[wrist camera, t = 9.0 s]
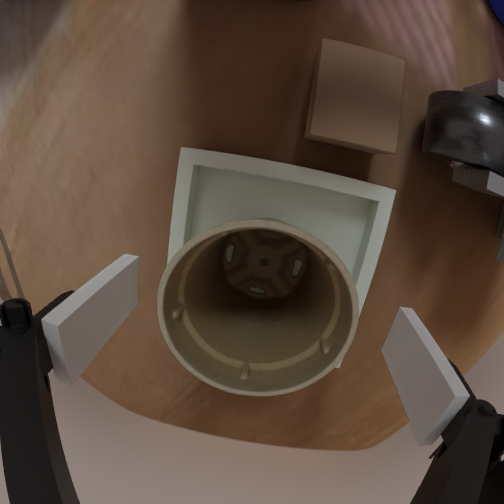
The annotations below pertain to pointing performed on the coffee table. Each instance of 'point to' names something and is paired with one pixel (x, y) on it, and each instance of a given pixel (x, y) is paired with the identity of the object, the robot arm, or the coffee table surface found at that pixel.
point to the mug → (498, 9)
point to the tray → (282, 206)
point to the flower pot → (257, 308)
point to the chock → (355, 98)
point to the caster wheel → (470, 139)
